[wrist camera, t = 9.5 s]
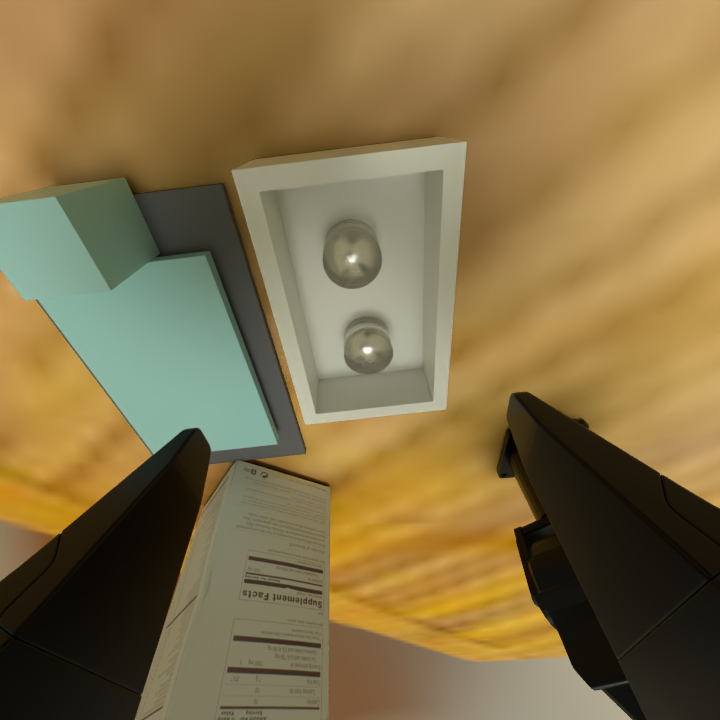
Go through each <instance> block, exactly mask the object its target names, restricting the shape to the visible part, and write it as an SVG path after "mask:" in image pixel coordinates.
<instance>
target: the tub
mask: <svg viewBox="0 0 720 720" xmlns="http://www.w3.org/2000/svg"><path fill="white" fill-rule="evenodd" d="M466 146H467V141H462V140H456V139H451V138H445V137H440V136H439V137H431V138H423V139H415V140H407V141H399V142H391V143H383V144H375V145H366V146H358V147H350V148H342V149H334V150H326V151H318V152H310V153H302V154H294V155H286V156H277V157H269V158H261V159H254V160H252V161H250V162H248V163H245V164H243V165H241V166H239V167H237V168H235V169H233V170H231V171H232V175H233V178H234V181H235V185H236V188H237V192H238V195H239V199H240V202H241V206H242V209H243V212H244V216H245V219H246V223H247V226H248V230H249V233H250V236H251V240H252V243H253V247H254V250H255V254H256V257H257V261H258V264H259V267H260V271H261V274H262V278H263V281H264V285H265V288H266V291H267V295H268V298H269V302H270V305H271V309H272V312H273V316H274V319H275V322H276V326H277V329H278V333H279V336H280V340H281V343H282V346H283V350H284V353H285V357H286V360H287V364H288V367H289V371H290V374H291V377H292V381H293V384H294V388H295V391H296V395H297V398H298V401H299V405H300V408H301V412H302V415H303V419H304V422H305V425H308V424H317V423H327V422H336V421H345V420H354V419H363V418H372V417H382V416H391V415H400V414H409V413H418V412H427V411H437V410H446V404H447V391H448V379H449V366H450V353H451V340H452V327H453V314H454V301H455V288H456V275H457V262H458V250H459V237H460V224H461V211H462V198H463V185H464V172H465V159H466ZM347 219H355V220H359V221H362V222H364V223H366V224H367V225H368V226H369V227H370V228H371V229H372V230H373V231H374V233H375V235H376V237H377V240H378V243H379V247H380V250H381V253H382V266H381V269H380V272H379V274H378V275H377V277H376V278H375V279H374V280H373V281H372V282H371V283H370V284H368V285H366V286H364V287H362V288H357V289H347V288H343V287H340V286H338V285H336V284H335V283H334V282H332V281H331V280H330V279H329V277H328V276H327V274H326V273H325V270H324V267H323V261H322V260H323V249H324V242H325V238H326V235H327V233H328V232H329V230H330V229H331V228H332V227H333V226H334V225H335V224H337V223H338V222H340V221H343V220H347ZM364 316H370V317H375V318H377V319H379V320H381V321H382V322H384V324H385V325H386V326H387V328H388V331H389V335H390V340H391V344H392V348H393V358H392V361H391V362H390V364H389V365H388V366H387V367H386V368H385V369H384V370H382V371H380V372H378V373H374V374H361V373H357V372H355V371H353V370H352V369H351V368H349V366H348V365H347V364H346V362H345V359H344V331H345V329H346V327H347V326H348V324H349V323H350V322H352V321H353V320H355V319H357V318H360V317H364Z"/></svg>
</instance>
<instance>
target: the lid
mask: <svg viewBox="0 0 720 720" xmlns="http://www.w3.org/2000/svg"><path fill="white" fill-rule="evenodd" d="M159 254H160V252H159V250H158V247H157V245H156V243H155V241H154V239H153V237H152V234H151V232H150V230H149V228H148V226H147V224H146V222H145V219H144V217H143V215H142V213H141V211H140V209H139V206H138V204H137V202H136V200H135V198H134V196H133V194H132V191H131V189H130V187H129V185H128V183H127V181H126V178H117V179H109V180H101V181H93V182H84V183H76V184H68V185H60V186H52V187H46V188H42V189H38V190H33V191H29V192H25V193H21V194H16V195H12V196H8V197H4V198H0V270H1V271H2V272H3V273H4V275H5V276H6V277H7V279H8V280H9V281H10V282H11V284H12V285H13V286H14V288H15V289H16V290H17V291H18V293H19V294H20V295H21V297H22V298H23V299H24V300H25V301H28V300H36V299H37V300H38V301H39V302H40V304H41V305H42V306H43V308H44V309H45V310H46V312H47V313H48V314H49V316H50V317H51V318H52V320H53V321H54V322H55V324H56V325H57V326H58V328H59V329H60V330H61V332H62V333H63V334H64V336H65V337H66V338H67V340H68V341H69V342H70V344H71V345H72V346H73V348H74V349H75V350H76V352H77V353H78V354H79V356H80V357H81V358H82V360H83V361H84V362H85V364H86V365H87V366H88V368H89V369H90V370H91V372H92V373H93V374H94V376H95V377H96V378H97V380H98V381H99V382H100V384H101V385H102V386H103V388H104V389H105V390H106V392H107V393H108V394H109V396H110V397H111V398H112V400H113V401H114V402H115V404H116V405H117V406H118V408H119V409H120V410H121V412H122V413H123V414H124V416H125V417H126V418H127V420H128V421H129V422H130V424H131V425H132V426H133V428H134V429H135V430H136V432H137V433H138V434H139V436H140V437H141V438H142V440H143V441H144V442H145V444H146V445H147V446H148V448H149V449H150V450H151V452H152V453H153V454H155V453H156V452H157V451H158V450H160V449H161V448H162V447H163V446H164V445H166V444H167V443H168V442H169V441H170V440H172V439H173V438H174V437H175V436H176V435H177V434H179V433H180V432H181V431H182V430H184V429H189V428H199V429H201V431H202V432H203V434H204V436H205V438H206V439H207V441H208V443H209V445H210V447H211V451H221V450H230V449H239V448H248V447H257V446H267V445H276V444H278V440H279V435H278V433H277V430H276V427H275V425H274V422H273V419H272V416H271V414H270V411H269V408H268V406H267V403H266V400H265V398H264V395H263V392H262V390H261V387H260V384H259V382H258V379H257V376H256V374H255V371H254V368H253V365H252V363H251V360H250V357H249V355H248V352H247V349H246V347H245V344H244V341H243V339H242V336H241V333H240V331H239V328H238V325H237V323H236V320H235V317H234V315H233V312H232V309H231V306H230V304H229V301H228V298H227V296H226V293H225V290H224V288H223V285H222V282H221V280H220V277H219V274H218V272H217V269H216V266H215V264H214V261H213V258H212V256H211V253H210V251H204V252H195V253H187V254H179V255H170V256H162V257H156V256H157V255H159Z"/></svg>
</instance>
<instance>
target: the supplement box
mask: <svg viewBox="0 0 720 720" xmlns="http://www.w3.org/2000/svg"><path fill="white" fill-rule="evenodd" d="M329 579H330V487H327V486H323V485H320V484H317V483H314V482H310V481H307V480H304V479H300V478H297V477H294V476H290V475H287V474H284V473H281V472H277V471H274V470H271V469H267V468H264V467H261V466H257V465H254V464H251V463H247V462H244V461H241V460H236V462H235V463H234V464H233V466H232V467H231V468H230V470H229V471H228V473H227V474H226V476H225V477H224V479H223V480H222V482H221V483H220V485H219V486H218V488H217V489H216V491H215V492H214V494H213V495H212V496H211V498H210V499H209V501H208V502H207V504H206V505H205V507H204V508H203V510H202V513H201V516H200V519H199V522H198V525H197V528H196V531H195V534H194V537H193V540H192V543H191V546H190V549H189V552H188V555H187V558H186V561H185V564H184V567H183V571H182V574H181V577H180V580H179V583H178V586H177V589H176V593H175V595H174V598H173V601H172V605H171V608H170V611H169V614H168V617H167V620H166V623H165V626H164V629H163V633H162V636H161V638H160V641H159V644H158V647H157V650H156V653H155V656H154V659H153V662H152V665H151V668H150V671H149V674H148V677H147V681H146V684H145V687H144V690H143V693H142V694H141V696H142V698H141V701H140V704H139V707H138V711H137V714H136V717H135V720H328V667H329Z"/></svg>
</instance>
